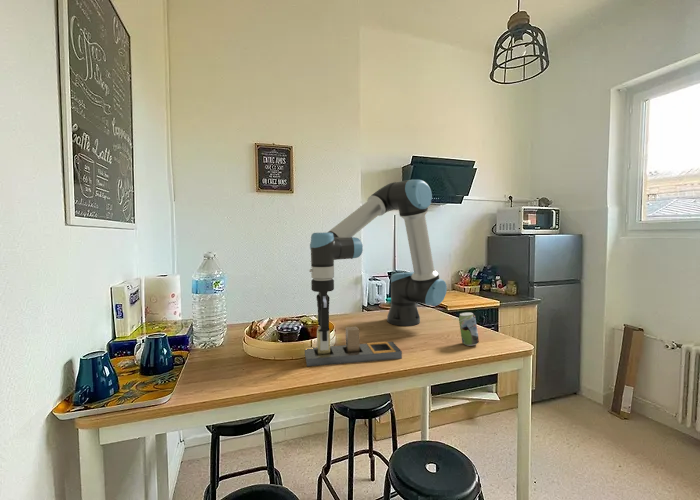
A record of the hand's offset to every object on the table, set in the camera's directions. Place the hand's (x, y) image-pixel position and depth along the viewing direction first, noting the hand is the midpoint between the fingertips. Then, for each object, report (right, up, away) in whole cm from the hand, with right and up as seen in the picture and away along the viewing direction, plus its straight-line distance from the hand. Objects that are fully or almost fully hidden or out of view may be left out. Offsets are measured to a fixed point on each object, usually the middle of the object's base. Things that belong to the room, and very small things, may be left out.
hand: (323, 347), depth 118 cm
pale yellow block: (0, -4, 0) cm, 4 cm away
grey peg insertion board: (+10, -4, +2) cm, 11 cm away
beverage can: (+54, -3, +14) cm, 56 cm away
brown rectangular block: (+10, -4, +2) cm, 11 cm away
